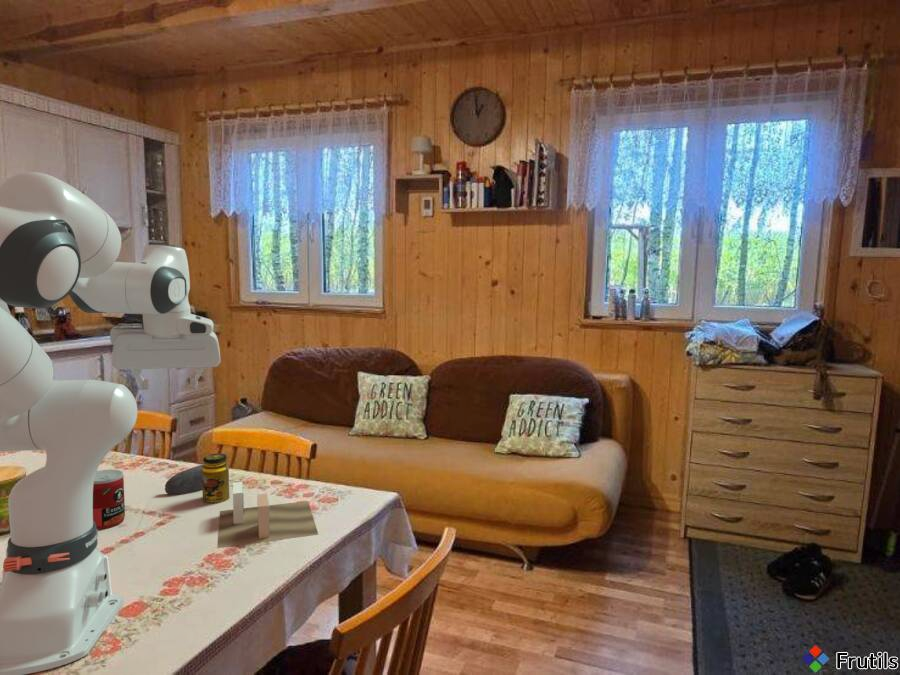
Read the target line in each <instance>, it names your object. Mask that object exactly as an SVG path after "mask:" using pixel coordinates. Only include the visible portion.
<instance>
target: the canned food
mask: <svg viewBox="0 0 900 675" xmlns="http://www.w3.org/2000/svg"><path fill="white" fill-rule="evenodd" d="M124 478H125V477H124V472H123V471H122V470H118V469H101V470H97V472H96V475H95V478H94V484H93V521H94V522H95V523H96V528H97V530H105V529H110V528H113V527H116V526H118V525H121V524H122V523H123V522H124V521H125V518H126V509H125V508H126V507H125V505H126V504H125V479H124Z"/></svg>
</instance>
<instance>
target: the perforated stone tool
mask: <svg viewBox="0 0 900 675" xmlns="http://www.w3.org/2000/svg"><path fill="white" fill-rule="evenodd" d="M203 467H204V466H203V464H200V465H196V466H192V467H191V468H188V469H185V470H183V471H179V472H178V473H176V474H174V475H173V476H171V477H170V478H169V479H168V480H167V481H166V483H165V484H164V491H165V493H166V494H167V495H168V496H175V495H184V494H189V493H196V492H200V491H202V490H203V489H202V469H203Z"/></svg>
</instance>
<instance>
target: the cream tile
mask: <svg viewBox="0 0 900 675" xmlns="http://www.w3.org/2000/svg"><path fill="white" fill-rule="evenodd" d="M232 483H233V484H232V508H233V509H232V510H233V520H234V524H241V523H243V516H244V508H245V507H244V504H245V503H244V502H245V501H244V486H243V481H238V482H232Z"/></svg>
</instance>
